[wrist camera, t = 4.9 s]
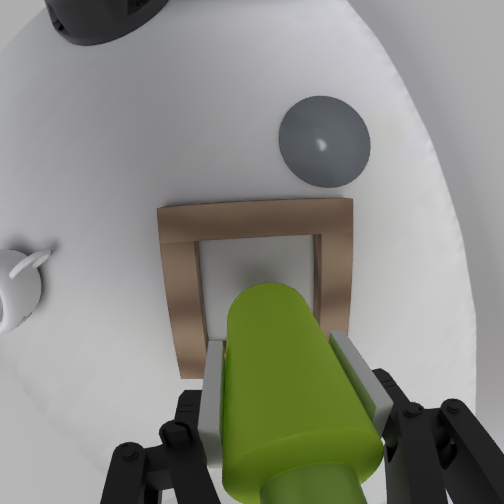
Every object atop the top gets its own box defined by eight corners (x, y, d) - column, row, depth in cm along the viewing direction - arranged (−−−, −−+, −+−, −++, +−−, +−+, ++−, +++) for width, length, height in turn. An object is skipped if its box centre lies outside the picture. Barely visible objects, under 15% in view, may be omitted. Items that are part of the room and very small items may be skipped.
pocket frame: (163, 206, 26) (156, 208, 24) (342, 197, 27) (352, 198, 25) (184, 365, 30) (181, 378, 27) (337, 353, 31) (344, 365, 28)
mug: (27, 321, 28) (-9, 348, 20) (-5, 265, 26) (-45, 282, 18) (81, 278, 27) (41, 304, 19) (44, 211, 25) (-2, 220, 18)
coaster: (276, 96, 25) (277, 94, 24) (363, 101, 25) (366, 100, 24) (281, 188, 27) (282, 188, 26) (369, 187, 27) (372, 187, 26)
